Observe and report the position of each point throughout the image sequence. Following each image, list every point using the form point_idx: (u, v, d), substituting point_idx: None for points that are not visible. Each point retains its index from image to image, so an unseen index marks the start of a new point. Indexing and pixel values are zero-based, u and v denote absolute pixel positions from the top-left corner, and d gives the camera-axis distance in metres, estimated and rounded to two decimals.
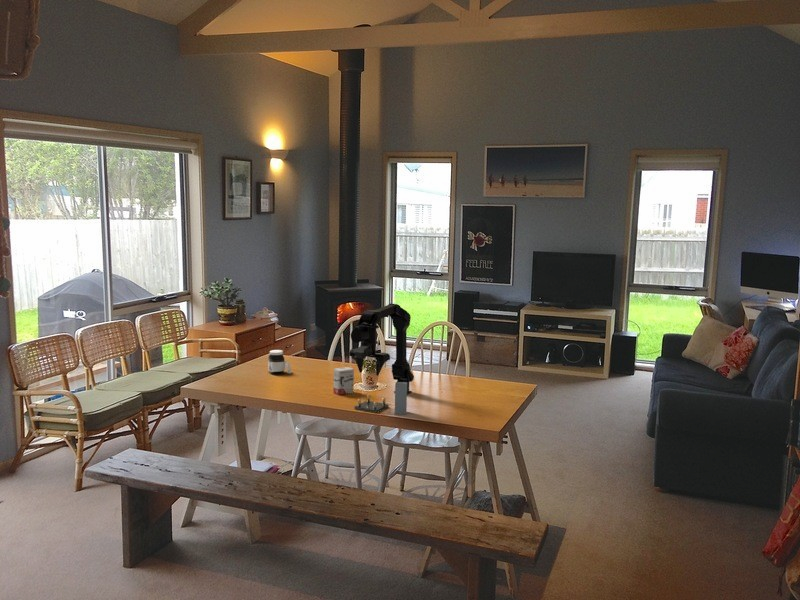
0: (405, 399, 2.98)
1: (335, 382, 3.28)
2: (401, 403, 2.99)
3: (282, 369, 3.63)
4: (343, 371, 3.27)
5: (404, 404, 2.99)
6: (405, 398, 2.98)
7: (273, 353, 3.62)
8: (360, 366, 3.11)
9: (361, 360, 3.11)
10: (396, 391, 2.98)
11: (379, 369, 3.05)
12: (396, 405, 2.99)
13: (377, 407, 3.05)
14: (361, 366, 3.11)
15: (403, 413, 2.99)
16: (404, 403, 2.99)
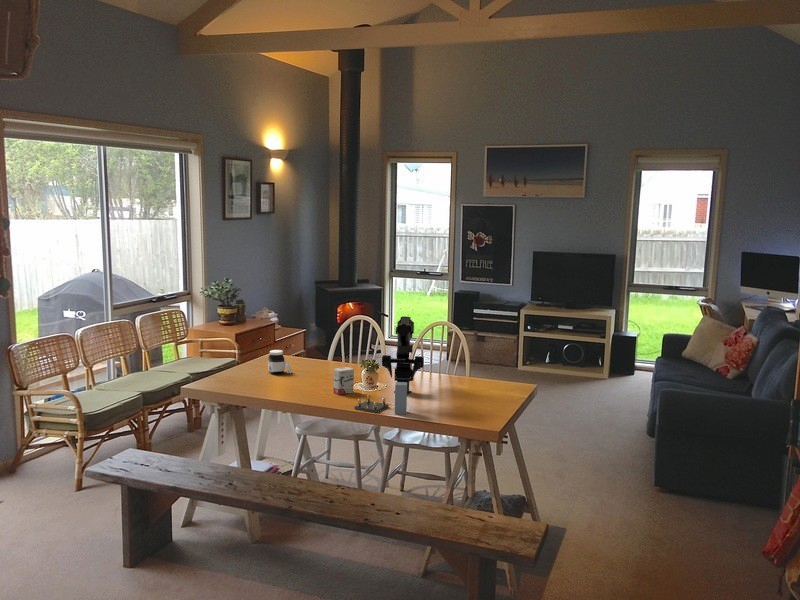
0: (405, 399, 2.98)
1: (335, 382, 3.28)
2: (401, 403, 2.99)
3: (282, 369, 3.63)
4: (343, 371, 3.27)
5: (404, 404, 2.99)
6: (405, 398, 2.98)
7: (273, 353, 3.62)
8: (391, 371, 3.10)
9: None
10: (396, 391, 2.98)
11: (414, 372, 3.09)
12: (396, 405, 2.99)
13: (377, 407, 3.05)
14: None
15: (403, 413, 2.99)
16: (404, 403, 2.99)
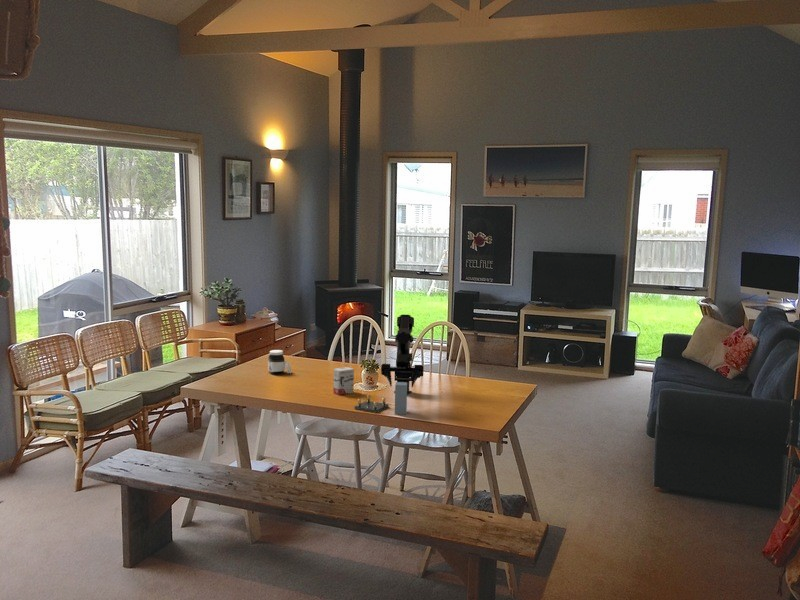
0: (405, 399, 2.98)
1: (335, 382, 3.28)
2: (401, 403, 2.99)
3: (282, 369, 3.63)
4: (343, 371, 3.27)
5: (404, 404, 2.99)
6: (405, 398, 2.98)
7: (273, 353, 3.62)
8: None
9: None
10: (396, 391, 2.98)
11: (414, 381, 3.06)
12: (396, 405, 2.99)
13: (377, 407, 3.05)
14: None
15: (403, 413, 2.99)
16: (404, 403, 2.99)
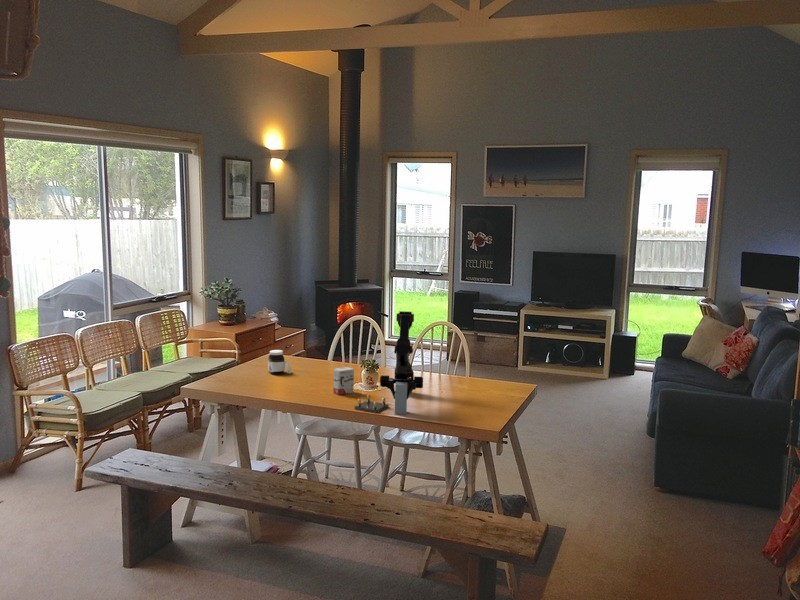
0: (405, 399, 2.98)
1: (335, 382, 3.28)
2: (402, 403, 2.99)
3: (282, 369, 3.63)
4: (343, 371, 3.27)
5: (404, 404, 2.99)
6: (405, 398, 2.98)
7: (273, 353, 3.62)
8: (394, 392, 3.01)
9: None
10: (396, 391, 2.98)
11: (409, 393, 3.01)
12: (396, 405, 2.99)
13: (377, 407, 3.05)
14: (394, 393, 3.02)
15: (403, 413, 2.99)
16: (404, 403, 2.99)
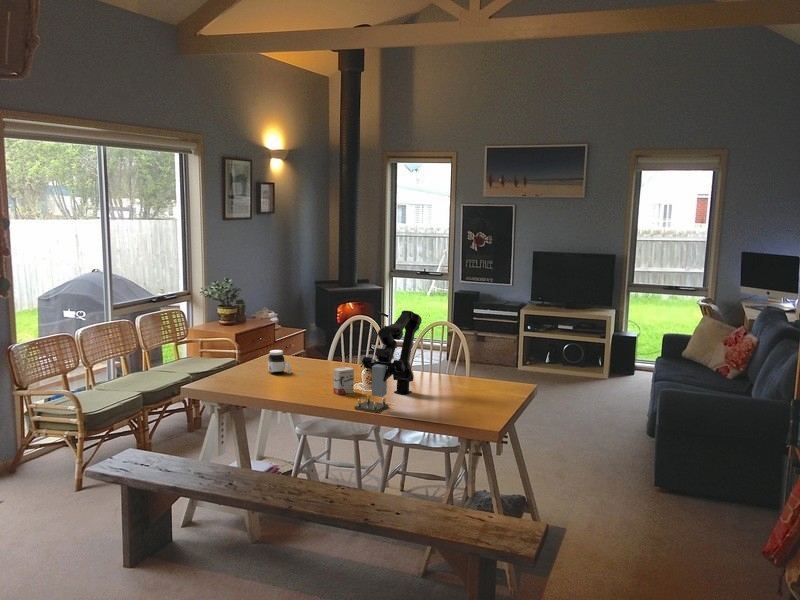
0: (381, 381, 3.01)
1: (335, 382, 3.28)
2: (378, 385, 3.02)
3: (282, 369, 3.63)
4: (343, 371, 3.27)
5: (380, 386, 3.01)
6: (381, 380, 3.01)
7: (273, 353, 3.62)
8: None
9: None
10: (373, 373, 3.02)
11: (387, 375, 3.03)
12: (373, 387, 3.02)
13: (377, 407, 3.05)
14: None
15: (379, 395, 3.02)
16: (380, 386, 3.01)
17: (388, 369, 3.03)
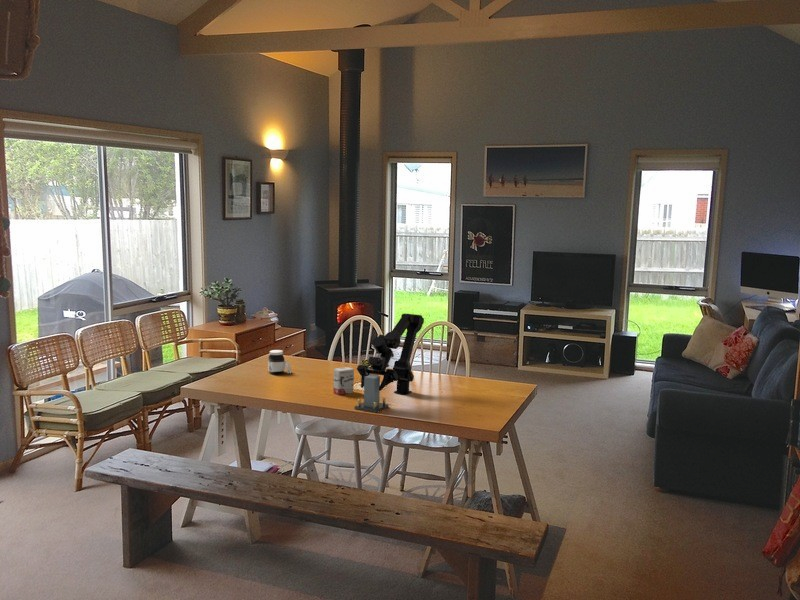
0: (373, 392, 3.04)
1: (335, 382, 3.28)
2: (370, 396, 3.04)
3: (282, 369, 3.63)
4: (343, 371, 3.27)
5: (372, 397, 3.04)
6: (373, 391, 3.04)
7: (273, 353, 3.62)
8: (363, 381, 3.09)
9: None
10: (365, 383, 3.05)
11: (383, 385, 3.04)
12: (365, 397, 3.06)
13: (377, 407, 3.05)
14: None
15: (371, 406, 3.05)
16: (372, 396, 3.04)
17: (384, 378, 3.04)
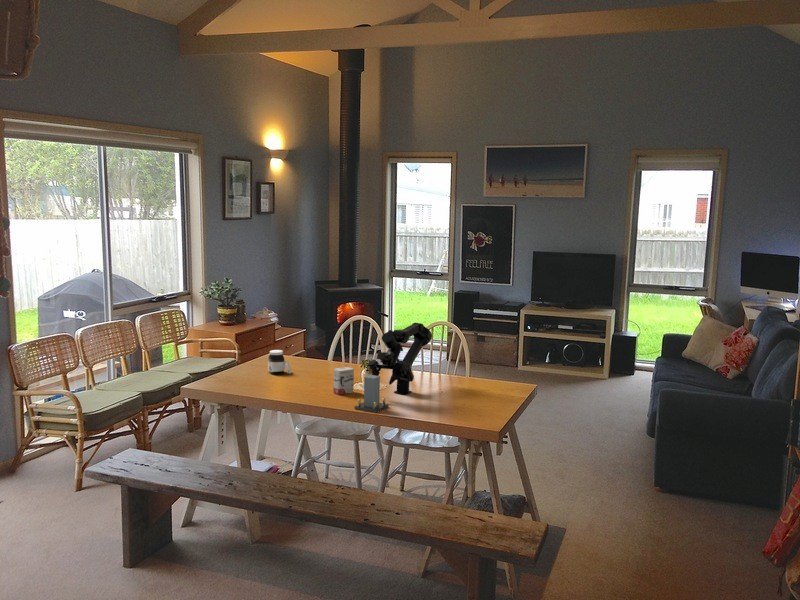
0: (373, 392, 3.04)
1: (335, 382, 3.28)
2: (370, 396, 3.04)
3: (282, 369, 3.63)
4: (343, 371, 3.27)
5: (372, 397, 3.04)
6: (373, 391, 3.04)
7: (273, 353, 3.62)
8: None
9: (377, 373, 3.20)
10: (365, 383, 3.05)
11: (393, 378, 3.12)
12: (365, 397, 3.06)
13: (377, 407, 3.05)
14: None
15: (371, 406, 3.05)
16: (372, 396, 3.04)
17: (394, 372, 3.12)
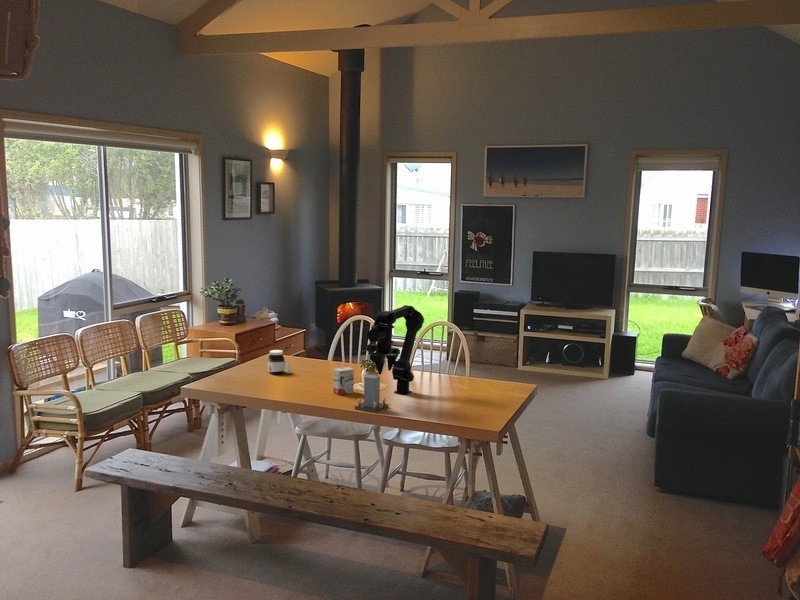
0: (373, 392, 3.04)
1: (335, 382, 3.28)
2: (370, 396, 3.04)
3: (282, 369, 3.63)
4: (343, 371, 3.27)
5: (372, 397, 3.04)
6: (373, 391, 3.04)
7: (273, 353, 3.62)
8: (389, 364, 3.23)
9: (391, 359, 3.22)
10: (365, 383, 3.05)
11: (378, 368, 3.14)
12: (365, 397, 3.06)
13: (377, 407, 3.05)
14: (390, 365, 3.23)
15: (371, 406, 3.05)
16: (372, 396, 3.04)
17: None
